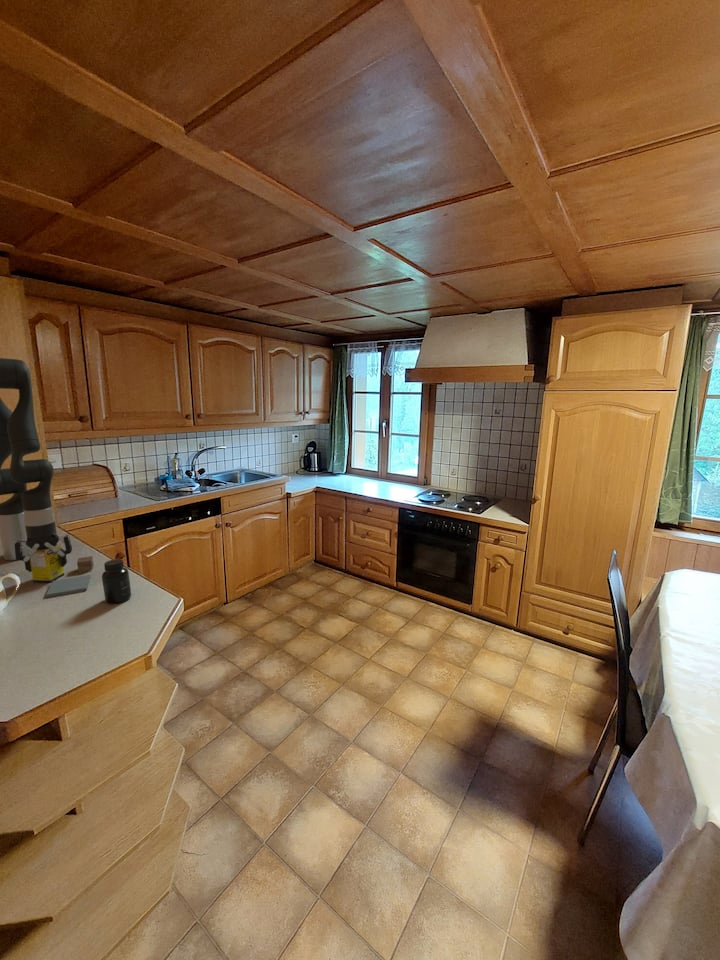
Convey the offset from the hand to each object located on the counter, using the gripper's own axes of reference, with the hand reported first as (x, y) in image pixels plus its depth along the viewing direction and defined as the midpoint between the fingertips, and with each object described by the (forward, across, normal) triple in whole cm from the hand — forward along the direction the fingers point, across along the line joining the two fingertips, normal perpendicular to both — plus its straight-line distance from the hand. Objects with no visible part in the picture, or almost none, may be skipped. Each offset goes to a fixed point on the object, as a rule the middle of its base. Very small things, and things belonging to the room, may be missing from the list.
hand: (47, 568), depth 128 cm
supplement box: (+4, 0, 0) cm, 4 cm away
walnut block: (+4, -10, -3) cm, 11 cm away
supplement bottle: (+4, -21, +25) cm, 33 cm away
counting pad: (+4, -7, +10) cm, 13 cm away
